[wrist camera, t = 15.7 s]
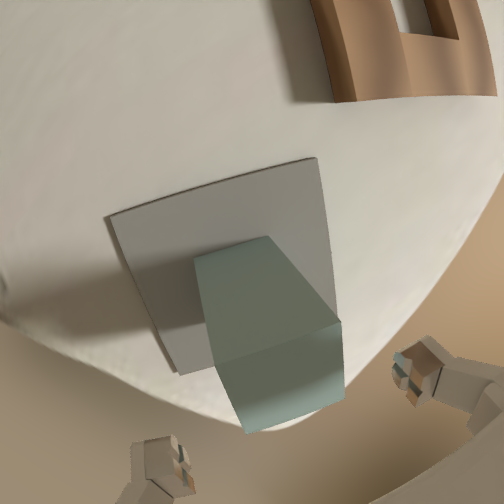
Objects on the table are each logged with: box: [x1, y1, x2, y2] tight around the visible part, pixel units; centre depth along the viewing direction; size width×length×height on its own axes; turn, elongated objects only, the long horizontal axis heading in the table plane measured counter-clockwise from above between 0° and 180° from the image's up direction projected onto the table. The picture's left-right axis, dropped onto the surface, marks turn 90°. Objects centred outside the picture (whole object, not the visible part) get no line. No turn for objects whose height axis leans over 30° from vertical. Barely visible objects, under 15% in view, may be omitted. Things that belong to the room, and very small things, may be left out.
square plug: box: [193, 236, 345, 435], centre depth 15 cm, size 4×4×9 cm
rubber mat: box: [110, 157, 338, 376], centre depth 19 cm, size 12×12×1 cm
